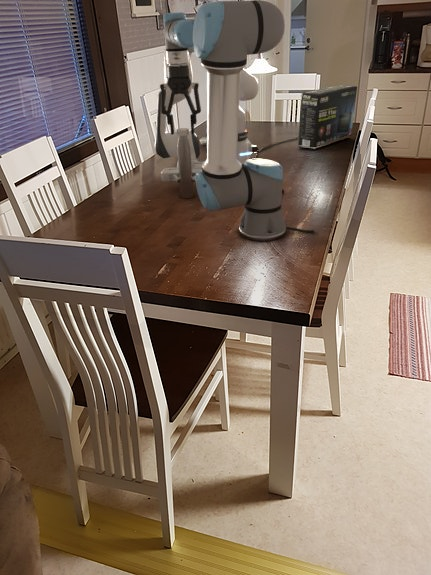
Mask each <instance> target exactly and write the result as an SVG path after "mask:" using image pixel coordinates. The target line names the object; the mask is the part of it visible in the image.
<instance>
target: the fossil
mask: <svg viewBox="0 0 431 575" xmlns="http://www.w3.org/2000/svg"><path fill="white" fill-rule="evenodd" d="M199 144H200V145H202V146H207V136H203V137H201V138H200V139H199Z"/></svg>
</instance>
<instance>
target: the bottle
mask: <svg viewBox="0 0 431 575" xmlns="http://www.w3.org/2000/svg"><path fill="white" fill-rule="evenodd" d="M178 137H179V139H178V143H177V144H178V145H177V153H178V156H177V163H178V166H179V178H180V182H179V189H180V190H179V191H180V198H182V199H191V198H194V182H192V164H191V148H190V143H189V140H188V136H187V135H185V136H178Z"/></svg>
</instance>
